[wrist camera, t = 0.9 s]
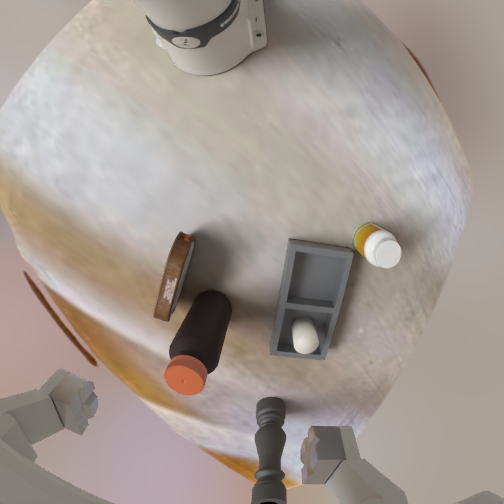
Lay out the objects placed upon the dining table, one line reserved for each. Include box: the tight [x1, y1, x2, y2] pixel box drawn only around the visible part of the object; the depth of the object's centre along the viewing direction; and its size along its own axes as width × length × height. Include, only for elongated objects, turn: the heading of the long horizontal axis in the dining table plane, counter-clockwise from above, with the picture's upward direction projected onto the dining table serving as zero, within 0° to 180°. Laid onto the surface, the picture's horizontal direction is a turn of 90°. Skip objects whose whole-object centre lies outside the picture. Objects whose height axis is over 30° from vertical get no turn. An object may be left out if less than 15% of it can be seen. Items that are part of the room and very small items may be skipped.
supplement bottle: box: [353, 223, 401, 268], centre depth 40 cm, size 5×5×10 cm
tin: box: [154, 232, 196, 322], centre depth 44 cm, size 15×3×8 cm, turn 159°
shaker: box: [291, 315, 319, 354], centre depth 46 cm, size 4×4×6 cm
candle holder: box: [251, 397, 287, 504], centre depth 44 cm, size 6×6×25 cm
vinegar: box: [164, 290, 232, 395], centre depth 40 cm, size 7×7×20 cm
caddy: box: [270, 239, 354, 360], centre depth 46 cm, size 20×10×4 cm, turn 173°
